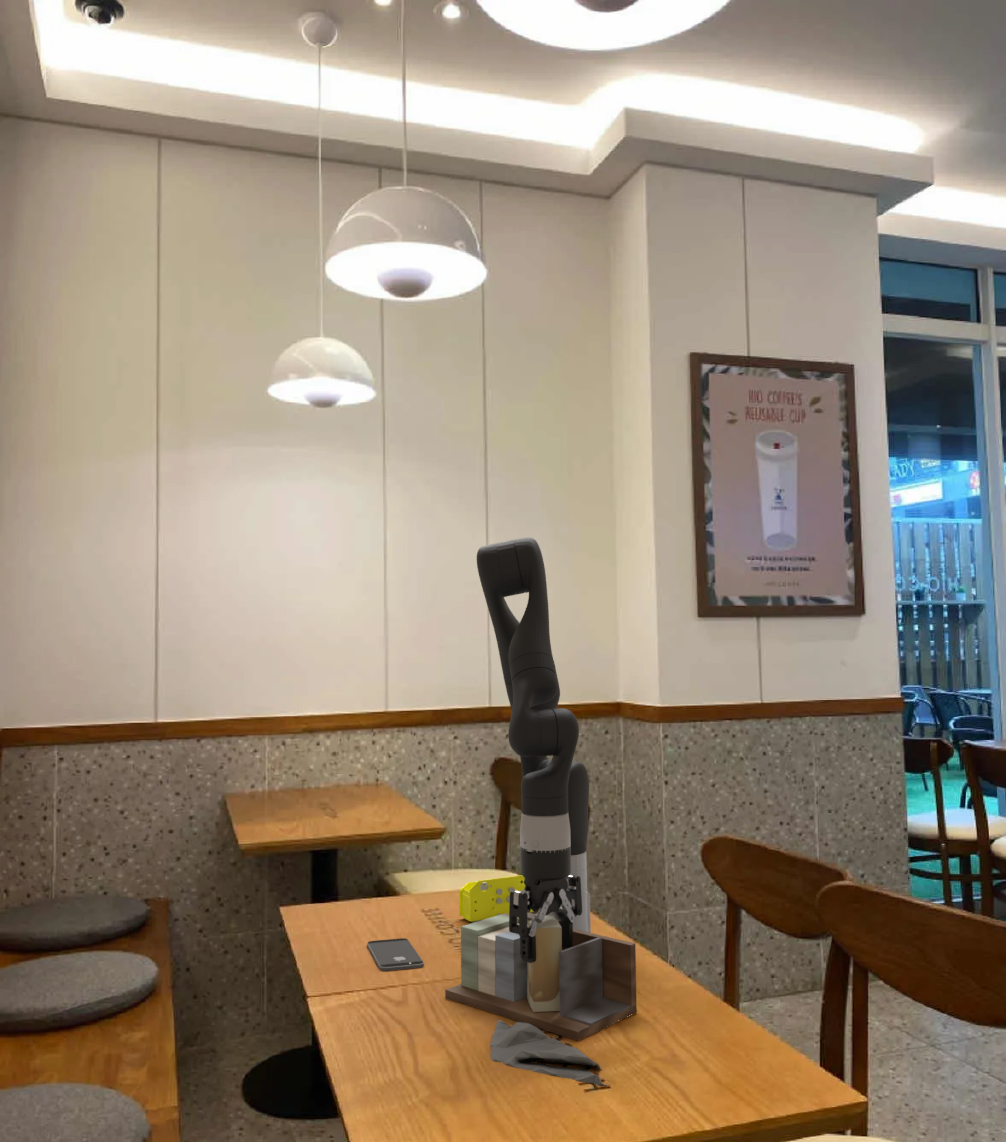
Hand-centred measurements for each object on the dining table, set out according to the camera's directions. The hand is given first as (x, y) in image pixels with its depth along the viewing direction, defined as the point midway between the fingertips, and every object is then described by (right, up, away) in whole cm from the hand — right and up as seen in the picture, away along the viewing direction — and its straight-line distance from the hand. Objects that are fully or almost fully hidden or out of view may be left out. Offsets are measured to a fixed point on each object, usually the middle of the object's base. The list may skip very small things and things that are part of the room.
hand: (547, 954), depth 150 cm
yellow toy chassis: (-7, -13, +53) cm, 54 cm away
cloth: (-2, -8, -15) cm, 17 cm away
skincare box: (-1, -8, -1) cm, 8 cm away
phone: (-26, -11, +28) cm, 39 cm away
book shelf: (-1, -9, +3) cm, 9 cm away
